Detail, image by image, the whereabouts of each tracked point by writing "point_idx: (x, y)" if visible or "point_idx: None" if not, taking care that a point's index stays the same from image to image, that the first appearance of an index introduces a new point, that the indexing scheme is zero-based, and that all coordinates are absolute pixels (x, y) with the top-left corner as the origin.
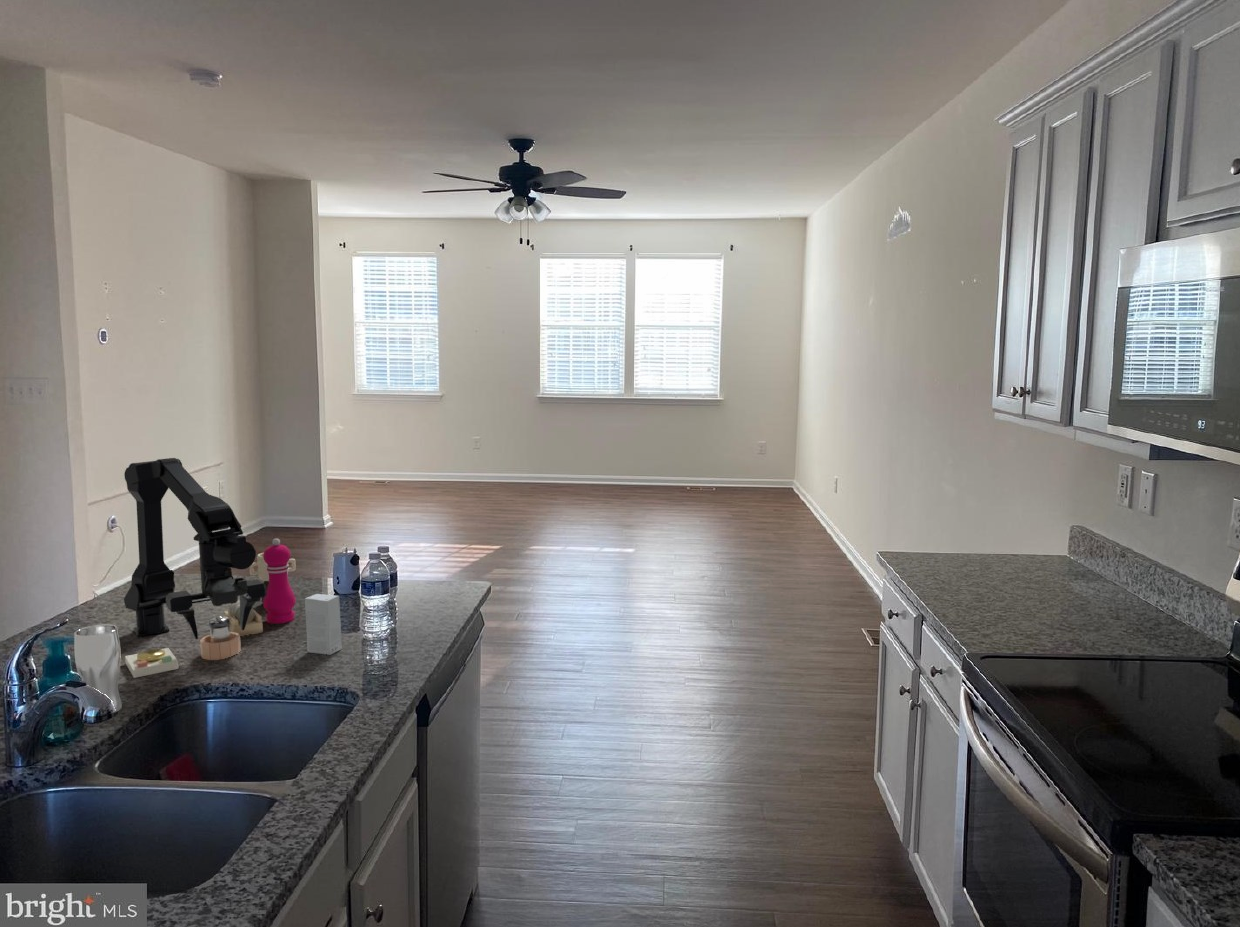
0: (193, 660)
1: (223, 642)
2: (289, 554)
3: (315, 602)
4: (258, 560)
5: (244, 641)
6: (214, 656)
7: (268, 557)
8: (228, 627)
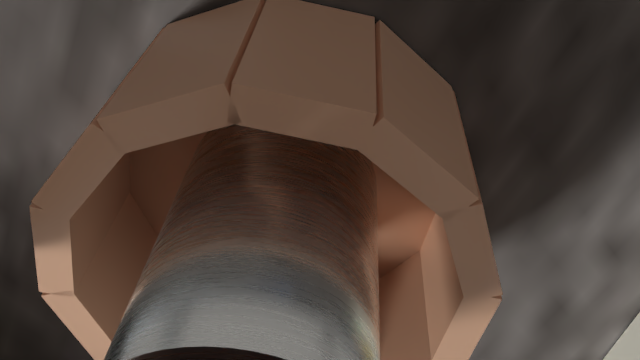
0: (547, 200)
1: (316, 111)
2: None
3: None
4: None
5: (24, 285)
6: (424, 77)
7: None
8: (128, 341)
